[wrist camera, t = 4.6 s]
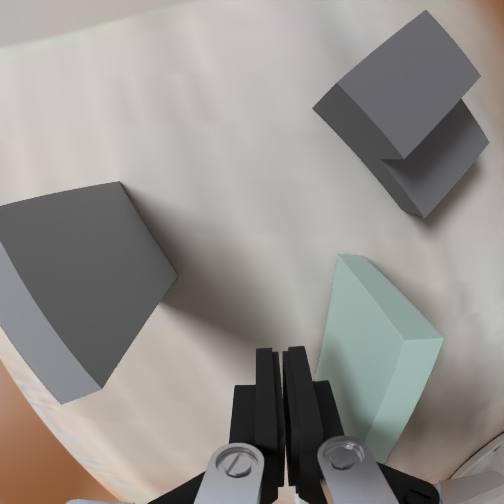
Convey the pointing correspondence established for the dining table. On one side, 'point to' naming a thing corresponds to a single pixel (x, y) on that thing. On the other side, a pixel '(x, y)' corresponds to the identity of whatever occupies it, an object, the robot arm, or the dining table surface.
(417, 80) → the dark grey stepped block
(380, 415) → the door
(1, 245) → the door frame
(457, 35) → the dining table surface
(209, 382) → the dining table surface
